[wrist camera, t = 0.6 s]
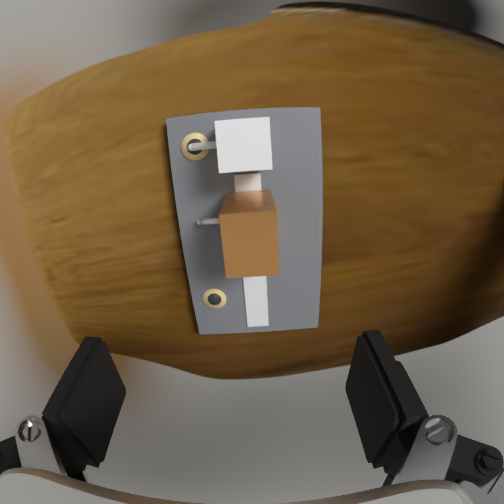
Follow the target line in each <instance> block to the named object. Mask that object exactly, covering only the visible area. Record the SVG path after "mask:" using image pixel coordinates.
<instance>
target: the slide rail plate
mask: <svg viewBox="0 0 504 504" xmlns="http://www.w3.org/2000/svg"><path fill="white" fill-rule="evenodd" d="M166 124H167V134H168V144H169V153H170V162H171V170H172V178H173V186H174V193H175V201H176V208H177V214H178V221H179V227H180V234H181V240H182V246H183V252H184V258H185V263H186V269H187V274H188V280H189V285H190V290H191V295H192V300H193V305H194V310H195V315H196V320H197V325H198V329H199V334H227V333H248V332H265V331H279V330H292V329H303V328H314V327H318V318H319V303H320V285H321V262H322V222H323V176H322V137H321V115H320V108H319V107H292V108H262V109H246V110H233V111H222V112H212V113H204V114H196V115H188V116H181V117H175V118H168V119H166ZM255 190H271V193H272V196H273V199H274V202H275V206H276V209H277V220H278V246H279V275H273V276H258V277H242V278H226V272H225V264H224V256H223V247H222V238H221V229H220V224H210V225H198V224H197V220H198V219H204V218H217V217H219V213H220V210H221V207H222V204H223V201H224V198H225V195H226V193H228V192H241V191H255Z"/></svg>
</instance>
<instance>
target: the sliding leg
mask: <svg viewBox="0 0 504 504" xmlns="http://www.w3.org/2000/svg"><path fill="white" fill-rule="evenodd" d="M197 224H198V225H210V224H220V229H221V238H222V247H223V256H224V264H225V272H226V278H242V277H258V276H273V275H279V246H278V220H277V209H276V206H275V202H274V199H273V196H272V193H271V190H255V191H241V192H228V193H226V195H225V198H224V201H223V204H222V207H221V210H220V213H219V217H217V218H204V219H198V220H197Z"/></svg>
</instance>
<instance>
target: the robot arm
mask: <svg viewBox="0 0 504 504" xmlns="http://www.w3.org/2000/svg"><path fill="white" fill-rule="evenodd" d="M346 393H347V396H348V399H349V402H350V406H351V409H352V412H353V415H354V419H355V422H356V425H357V428H358V432H359V435H360V438H361V442H362V445H363V449H364V452H365V456H366V459H367V461H368V463H372V464H373V468H374V469H375V468H378V467H382V466H383V467H384V471H385V473H386V475H385V477H384V479H383V481H382V483H381V484H380V486H379V488H375V489H370V490H366V491H362V492H357V493H353V494H347V495H342V496H336V497H330V498H324V499H317V500H309V501H301V502H292V503H280V504H504V464H503V456H502V454H501V452H500V451H499V450H497V448H495V447H493V446H489V445H486V444H483V443H480V442H477V441H475V440H472V439H469V438H466V437H463V436H461V435H458V430H457V426H456V425H455V423H454V422H453V421H452V420H451V419H450V418H448V417H446V416H444V415H432V416H430V417H429V415H428V413H427V411H426V409H425V407H424V405H423V403H422V401H421V399H420V397H419V395H418V393H417V392H416V389H415V388H414V386H413V384H412V382H411V380H410V378H409V376H408V374H407V372H406V370H405V369H404V367H403V365H402V364H401V362H399V361H396V360H395V358H394V356H393V354H392V353H391V351H390V349H389V347H388V345H387V343H386V342H385V340H384V338H383V336H382V334H381V333H380V331H379V330H372V331H364V332H363V333H362V335H361V336H358V338H357V342H356V346H355V350H354V354H353V358H352V362H351V366H350V370H349V374H348V378H347V382H346ZM125 395H126V389H125V386H124V384H123V382H122V380H121V378H120V375H119V373H118V371H117V369H116V366H115V364H114V362H113V360H112V357H111V355H110V352H109V350H108V348H107V345H106V343H105V342H103V341H102V339H101V338H98V337H85V339H84V340H83V342H82V343H81V345H80V347H79V348H78V350H77V352H76V353H75V355H74V357H73V358H72V360H71V362H70V363H69V365H68V367H67V369H66V370H65V372H64V374H63V376H62V378H61V379H60V381H59V383H58V385H57V386H56V388H55V390H54V392H53V394H52V395H51V397H50V399H49V401H48V403H47V405H46V407H45V409H44V411H43V413H42V414H43V416H42V418H40V417H38V416H35V415H29V416H26V417H24V418H22V419H21V420H20V421H19V422H18V424H17V425H16V428H15V436H13V437H10V438H8V439H6V440H3V441H1V442H0V504H201V503H189V502H179V501H171V500H164V499H157V498H151V497H145V496H140V495H135V494H130V493H125V492H121V491H117V490H112V489H108V488H104V487H101V486H97V485H93V484H92V483H91V481H90V479H89V477H88V475H87V473H86V471H85V468H86V465H91V466H94V467H97V468H98V467H99V465H100V462H103V461H104V458H105V455H106V452H107V449H108V446H109V443H110V439H111V436H112V433H113V430H114V427H115V424H116V421H117V418H118V415H119V412H120V410H121V406H122V404H123V401H124V398H125Z"/></svg>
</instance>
